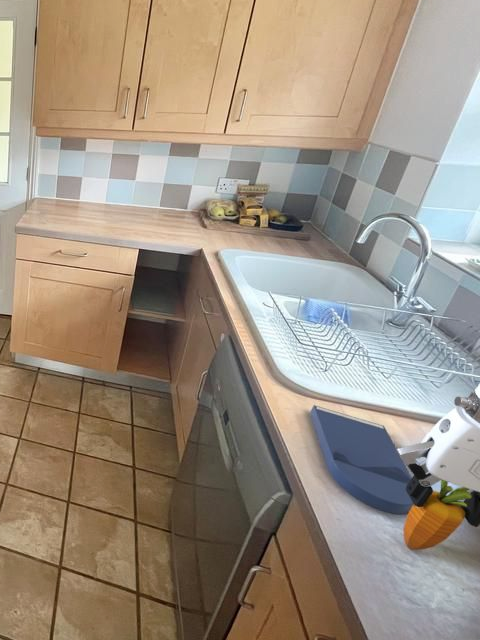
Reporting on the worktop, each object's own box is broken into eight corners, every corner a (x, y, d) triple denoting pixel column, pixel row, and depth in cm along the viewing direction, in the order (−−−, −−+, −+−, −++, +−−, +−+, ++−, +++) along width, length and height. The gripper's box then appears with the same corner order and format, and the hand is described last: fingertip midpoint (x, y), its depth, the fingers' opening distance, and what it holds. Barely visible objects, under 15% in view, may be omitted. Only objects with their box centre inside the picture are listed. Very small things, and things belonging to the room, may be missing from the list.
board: (378, 434, 87) (384, 425, 86) (425, 526, 69) (433, 516, 68) (309, 413, 92) (313, 404, 91) (336, 494, 74) (342, 484, 73)
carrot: (385, 526, 69) (430, 463, 63) (426, 544, 67) (477, 481, 60) (391, 551, 66) (439, 487, 59) (435, 571, 63) (489, 507, 57)
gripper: (435, 412, 55) (375, 503, 62) (632, 467, 48) (538, 561, 56) (411, 379, 61) (359, 465, 69) (583, 423, 54) (504, 513, 62)
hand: (440, 507), depth 62 cm, fingers open, 5 cm apart
